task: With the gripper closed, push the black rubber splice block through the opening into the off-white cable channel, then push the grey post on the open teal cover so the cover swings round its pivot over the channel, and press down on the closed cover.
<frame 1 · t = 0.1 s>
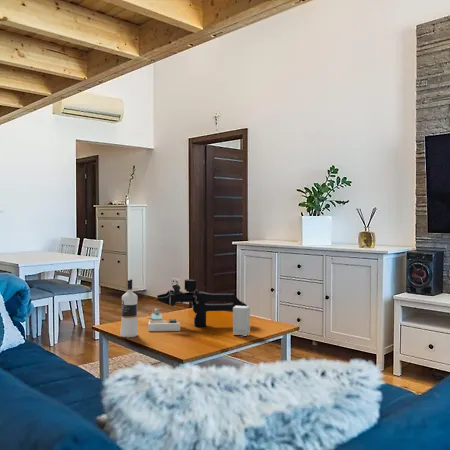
hand: (157, 297, 270), 17 cm above the table, tool horizontal, fingers open, 9 cm apart
cover: (155, 314, 272), point 6 cm above the table, hinge at 90.0°
channel: (163, 329, 264), on the table
splice block: (172, 325, 274), on the table
skincare box: (241, 335, 254), on the table
vodka: (129, 336, 248), on the table
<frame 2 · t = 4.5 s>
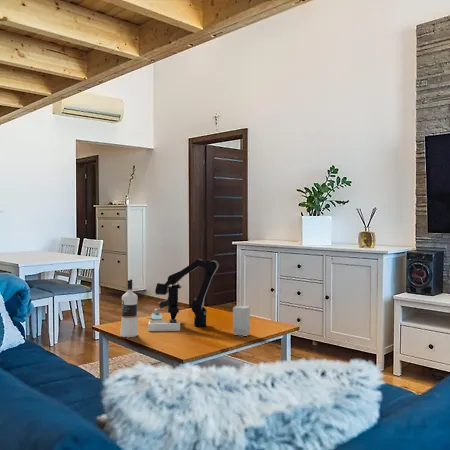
hand: (172, 321, 277), 1 cm above the table, tool pointing down, fingers closed
splice block: (173, 325, 273), on the table, touching gripper
everything else where it was.
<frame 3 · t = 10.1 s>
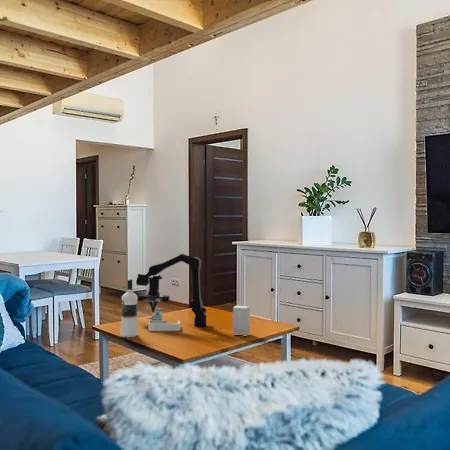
hand: (153, 312, 278), 6 cm above the table, tool pointing down, fingers closed
cover: (155, 314, 272), point 6 cm above the table, hinge at 87.4°, touching gripper
splice block: (173, 329, 264), resting in channel
everything else where it was.
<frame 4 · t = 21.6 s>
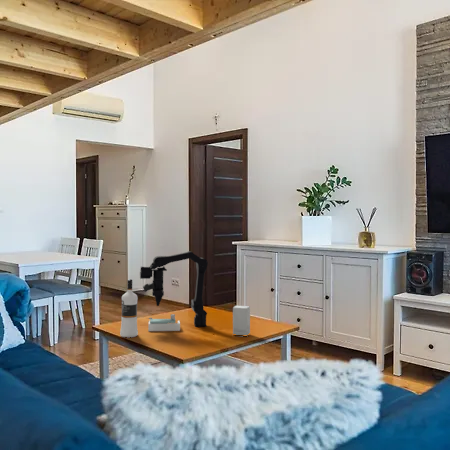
hand: (157, 305, 267), 12 cm above the table, tool pointing down, fingers closed
cover: (162, 318, 263), point 6 cm above the table, hinge at -0.9°
everything else where it was.
at the end: splice block inside the target area (0.7 cm from its centre), resting in channel; cover at -1° (first picture: +90°) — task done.
